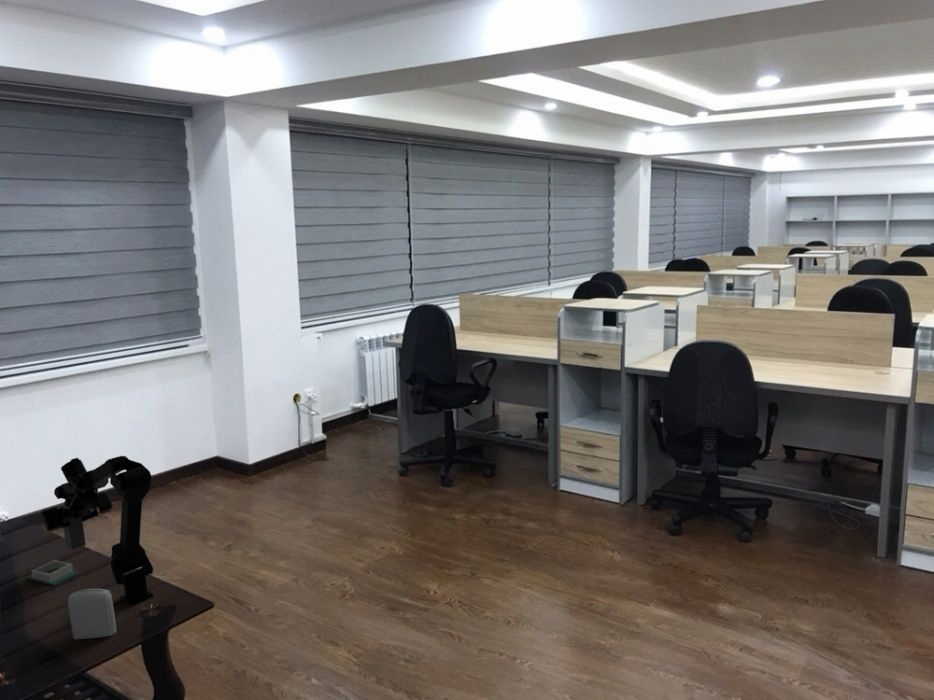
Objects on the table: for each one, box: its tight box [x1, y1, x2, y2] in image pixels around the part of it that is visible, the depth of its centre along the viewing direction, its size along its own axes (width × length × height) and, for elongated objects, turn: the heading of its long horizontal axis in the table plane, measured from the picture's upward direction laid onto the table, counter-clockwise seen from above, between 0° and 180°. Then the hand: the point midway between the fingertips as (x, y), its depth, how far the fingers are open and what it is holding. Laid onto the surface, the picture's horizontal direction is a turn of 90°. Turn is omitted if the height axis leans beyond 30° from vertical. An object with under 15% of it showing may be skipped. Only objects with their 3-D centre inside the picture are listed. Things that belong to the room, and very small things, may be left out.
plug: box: [63, 506, 86, 551], centre depth 225 cm, size 4×4×12 cm
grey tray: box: [26, 559, 80, 587], centre depth 219 cm, size 12×8×3 cm, turn 66°
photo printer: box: [67, 588, 117, 640], centre depth 187 cm, size 10×4×12 cm, turn 96°
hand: (71, 524), depth 226 cm, fingers closed on plug, 4 cm apart
